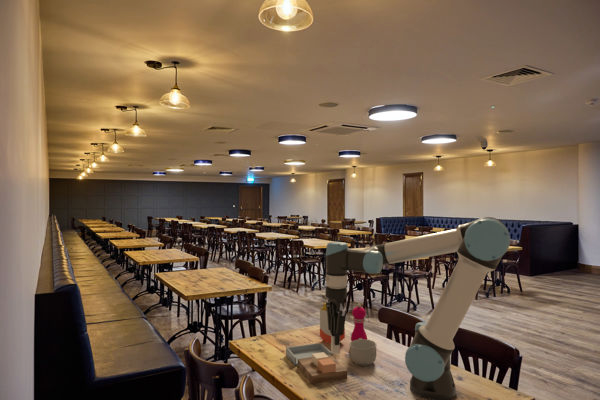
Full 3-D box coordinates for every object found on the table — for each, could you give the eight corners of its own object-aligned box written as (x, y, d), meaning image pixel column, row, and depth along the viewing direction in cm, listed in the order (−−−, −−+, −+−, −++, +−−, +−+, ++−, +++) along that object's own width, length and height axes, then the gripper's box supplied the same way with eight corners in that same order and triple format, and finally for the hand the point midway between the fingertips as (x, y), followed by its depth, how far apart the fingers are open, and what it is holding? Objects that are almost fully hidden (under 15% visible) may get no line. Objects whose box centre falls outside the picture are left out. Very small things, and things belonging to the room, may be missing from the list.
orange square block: (335, 371, 148) (335, 363, 148) (323, 373, 146) (323, 365, 146) (330, 366, 153) (330, 358, 153) (318, 368, 151) (318, 360, 151)
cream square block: (328, 364, 154) (328, 356, 154) (316, 366, 152) (316, 358, 152) (323, 359, 159) (323, 352, 159) (311, 361, 157) (311, 353, 157)
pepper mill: (352, 344, 183) (352, 300, 183) (368, 346, 181) (368, 302, 181) (349, 350, 176) (349, 305, 176) (365, 352, 174) (365, 306, 174)
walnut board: (347, 378, 149) (347, 370, 149) (312, 384, 144) (312, 375, 144) (329, 361, 164) (330, 354, 164) (297, 366, 159) (297, 359, 159)
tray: (331, 360, 165) (331, 352, 165) (294, 366, 159) (294, 357, 159) (320, 350, 176) (320, 342, 176) (286, 355, 170) (286, 347, 170)
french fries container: (324, 338, 191) (324, 300, 191) (345, 342, 185) (345, 304, 185) (319, 341, 187) (319, 302, 187) (340, 346, 181) (340, 306, 181)
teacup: (376, 369, 157) (376, 349, 157) (348, 367, 159) (348, 347, 159) (376, 355, 170) (376, 337, 170) (351, 353, 172) (351, 335, 172)
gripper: (319, 283, 146) (318, 347, 146) (334, 291, 134) (333, 361, 134) (338, 281, 149) (337, 345, 149) (354, 289, 136) (353, 358, 137)
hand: (335, 352), depth 141 cm, fingers closed
